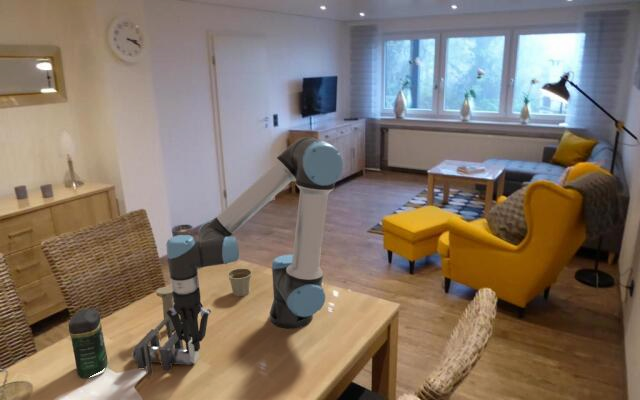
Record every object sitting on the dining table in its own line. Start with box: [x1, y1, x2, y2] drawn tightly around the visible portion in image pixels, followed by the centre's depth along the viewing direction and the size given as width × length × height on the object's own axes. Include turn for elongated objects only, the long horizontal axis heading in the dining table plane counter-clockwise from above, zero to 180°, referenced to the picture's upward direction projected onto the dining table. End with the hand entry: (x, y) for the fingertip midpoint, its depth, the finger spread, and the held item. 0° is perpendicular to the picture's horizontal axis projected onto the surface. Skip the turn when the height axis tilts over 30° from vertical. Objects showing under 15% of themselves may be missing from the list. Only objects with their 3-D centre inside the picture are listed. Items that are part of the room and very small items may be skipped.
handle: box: [155, 286, 175, 332], centre depth 151 cm, size 5×6×15 cm
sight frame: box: [143, 316, 175, 376], centre depth 135 cm, size 1×14×11 cm, turn 170°
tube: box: [132, 345, 194, 366], centre depth 136 cm, size 18×4×4 cm, turn 80°
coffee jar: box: [67, 307, 109, 379], centre depth 131 cm, size 10×8×19 cm
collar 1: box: [133, 328, 161, 369], centre depth 137 cm, size 2×10×7 cm, turn 170°
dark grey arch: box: [160, 331, 184, 372], centre depth 135 cm, size 2×10×7 cm, turn 170°
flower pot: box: [226, 267, 253, 298], centre depth 175 cm, size 9×9×9 cm
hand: (194, 359), depth 134 cm, fingers closed
